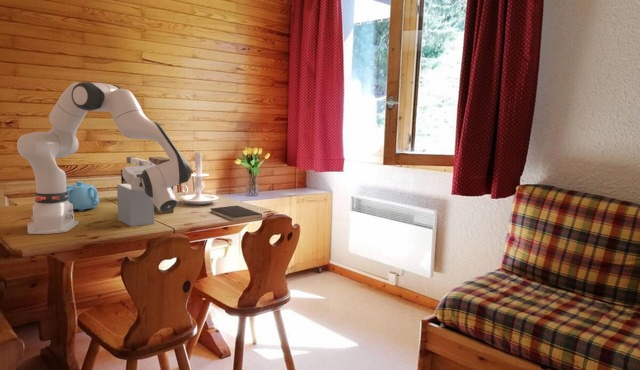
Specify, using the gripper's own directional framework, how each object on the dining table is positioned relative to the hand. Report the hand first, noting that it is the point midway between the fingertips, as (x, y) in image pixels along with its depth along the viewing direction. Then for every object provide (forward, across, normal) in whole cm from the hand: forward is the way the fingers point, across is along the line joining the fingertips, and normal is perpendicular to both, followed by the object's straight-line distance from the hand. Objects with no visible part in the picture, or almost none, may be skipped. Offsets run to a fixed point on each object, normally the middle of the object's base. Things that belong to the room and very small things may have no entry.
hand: (142, 162), depth 197 cm
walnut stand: (+8, -18, +36) cm, 41 cm away
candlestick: (+17, -42, +42) cm, 61 cm away
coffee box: (+40, -17, +55) cm, 70 cm away
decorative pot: (+29, +12, +49) cm, 58 cm away
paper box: (-5, 0, +29) cm, 29 cm away
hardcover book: (-15, -44, +24) cm, 53 cm away
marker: (+4, 0, +4) cm, 6 cm away
